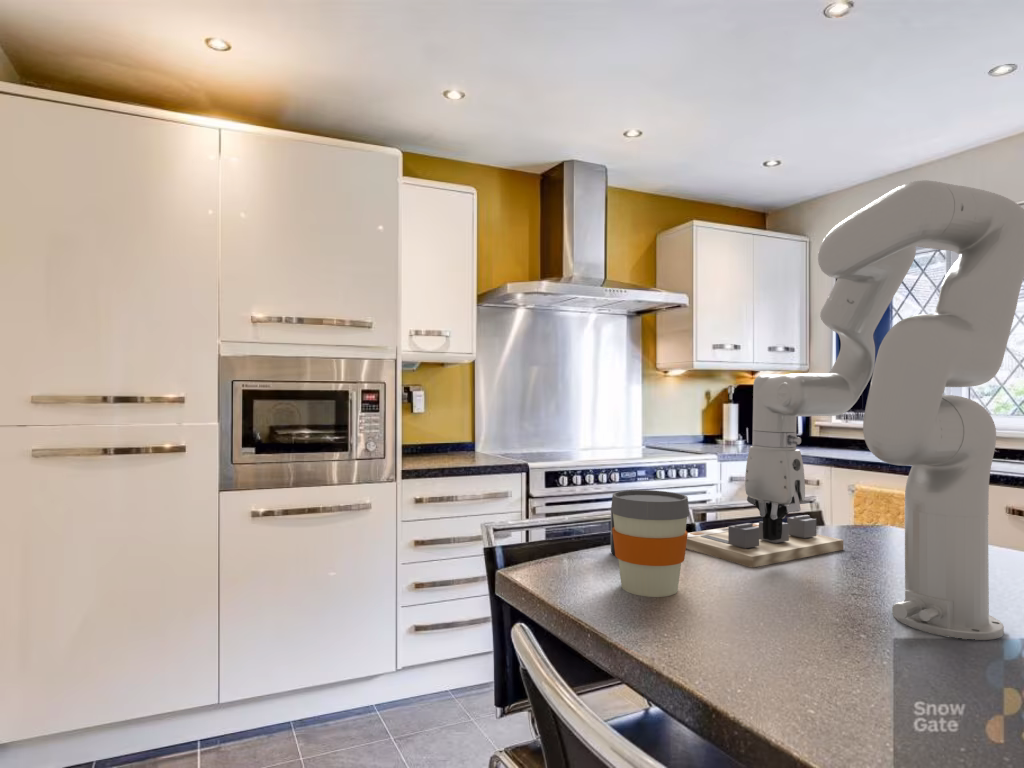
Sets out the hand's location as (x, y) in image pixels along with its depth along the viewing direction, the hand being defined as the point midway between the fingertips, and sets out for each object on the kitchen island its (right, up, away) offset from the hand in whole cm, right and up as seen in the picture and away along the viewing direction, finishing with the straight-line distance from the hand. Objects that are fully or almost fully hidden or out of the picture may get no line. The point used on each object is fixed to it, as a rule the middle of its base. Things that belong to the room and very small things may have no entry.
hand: (772, 538), depth 116 cm
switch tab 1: (-3, -3, +5) cm, 7 cm away
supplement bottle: (-26, -5, +6) cm, 27 cm away
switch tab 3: (+12, -3, +14) cm, 19 cm away
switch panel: (+2, -5, +13) cm, 14 cm away
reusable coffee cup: (-26, -5, -15) cm, 30 cm away
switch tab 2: (+4, -3, +10) cm, 11 cm away
